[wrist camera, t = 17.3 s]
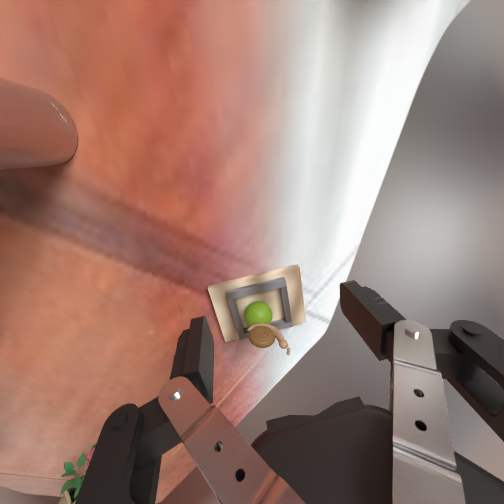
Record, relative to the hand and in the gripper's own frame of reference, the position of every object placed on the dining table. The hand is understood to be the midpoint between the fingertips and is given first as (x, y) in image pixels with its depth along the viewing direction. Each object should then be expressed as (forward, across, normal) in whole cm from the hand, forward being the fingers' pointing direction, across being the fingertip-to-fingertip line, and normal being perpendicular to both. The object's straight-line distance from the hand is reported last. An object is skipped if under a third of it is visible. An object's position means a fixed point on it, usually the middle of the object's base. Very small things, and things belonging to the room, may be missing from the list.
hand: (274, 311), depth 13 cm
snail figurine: (+27, 0, +21) cm, 34 cm away
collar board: (+28, 0, +21) cm, 35 cm away
